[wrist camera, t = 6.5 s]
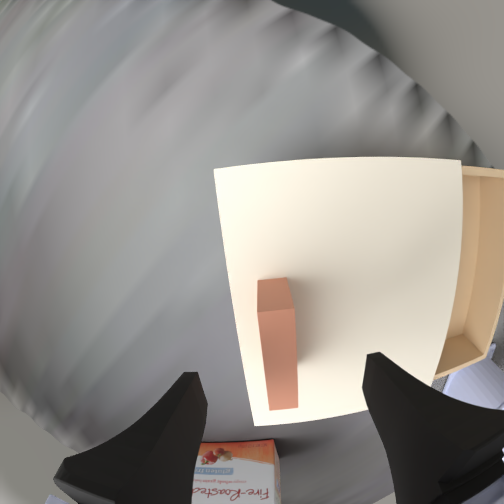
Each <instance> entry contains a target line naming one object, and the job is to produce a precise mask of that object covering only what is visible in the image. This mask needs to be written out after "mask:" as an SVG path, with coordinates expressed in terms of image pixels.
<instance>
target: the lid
mask: <svg viewBox="0 0 504 504" xmlns="http://www.w3.org/2000/svg"><path fill="white" fill-rule="evenodd" d="M214 176H215V184H216V192H217V200H218V207H219V214H220V222H221V229H222V236H223V243H224V250H225V257H226V263H227V270H228V277H229V283H230V290H231V296H232V302H233V308H234V315H235V321H236V327H237V333H238V338H239V344H240V350H241V356H242V361H243V367H244V373H245V378H246V383H247V389H248V394H249V400H250V405H251V410H252V415H253V420H254V425H255V426H264V425H277V424H287V423H296V422H304V421H311V420H318V419H324V418H330V417H336V416H341V415H346V414H351V413H355V412H360V411H364V410H368V407H367V405H366V401H365V398H364V394H363V391H362V383H363V377H364V371H365V364H366V357H367V354H370V353H375V352H381V353H382V354H384V355H385V356H386V357H388V358H389V359H390V360H392V361H393V362H394V363H396V364H397V365H398V366H400V367H401V368H402V369H404V370H405V371H407V372H408V373H409V374H411V375H412V376H414V377H415V378H417V379H418V380H420V381H422V382H423V383H425V384H427V385H428V386H430V387H431V384H432V381H433V378H434V375H435V372H436V369H437V366H438V363H439V360H440V357H441V353H442V350H443V346H444V342H445V339H446V335H447V331H448V327H449V322H450V318H451V313H452V308H453V303H454V297H455V292H456V285H457V279H458V271H459V263H460V253H461V241H462V221H463V187H462V168H461V160H451V159H436V158H415V157H343V158H320V159H304V160H291V161H279V162H269V163H259V164H250V165H242V166H234V167H226V168H219V169H214Z"/></svg>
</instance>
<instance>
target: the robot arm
mask: <svg viewBox="0 0 504 504" xmlns="http://www.w3.org/2000/svg"><path fill="white" fill-rule="evenodd" d="M495 347H496V344H495V343H492V344H491V345H490V347H489V350H488V353H487V356H486V358H485V359H483V360H480V361H478V362H476V363H474V364H472V365H470V366H467V367H465V368H463V369H461V370H458V371H456V372H453V373H451V374H449V376H448V379H447V382H446V384H445V387H444V389H443V392H442V393H441V392H439V391H437V390H435V389H433V388H432V387H430V386H428V385H427V384H425V383H423V382H422V381H420V380H418V379H417V378H415V377H414V376H412V375H411V374H409V373H408V372H407V371H405V370H404V369H402V368H401V367H400V366H398V365H397V364H396V363H394V362H393V361H392V360H390V359H389V358H388V357H386V356H385V355H384V354H382V353H381V352H375V353H370V354H367V357H366V364H365V371H364V377H363V383H362V391H363V394H364V398H365V401H366V405H367V407H368V410H369V412H370V414H371V417H372V419H373V421H374V423H375V426H376V428H377V430H378V433H379V435H380V437H381V440H382V442H383V445H384V447H385V450H386V454H387V457H388V461H389V465H390V469H391V474H392V478H393V483H394V489H395V496H396V503H397V504H504V372H503V371H502V370H501V369H500V368H499V367H498V366H497V365H496V364H495V363H494V362H493V361H492V360H491V358H492V356H493V353H494V350H495ZM207 405H208V403H207V400H206V397H205V394H204V391H203V388H202V385H201V381H200V378H199V375H198V372H184V373H183V374H182V375H181V376H180V377H179V378H178V380H177V381H176V382H175V383H174V384H173V385H172V387H171V388H170V389H169V390H168V391H167V392H166V393H165V394H164V395H163V396H162V398H161V399H160V400H159V401H158V402H157V403H156V404H155V405H154V406H153V407H152V408H151V409H150V410H149V411H148V412H147V413H146V414H144V415H143V416H142V417H141V418H140V419H139V420H138V421H136V422H135V423H134V424H133V425H131V426H130V427H129V428H127V429H126V430H124V431H123V432H121V433H120V434H118V435H117V436H115V437H113V438H112V439H110V440H108V441H107V442H105V443H103V444H101V445H99V446H97V447H94V448H92V449H90V450H87V451H85V452H82V453H79V454H76V455H73V456H70V457H67V458H65V459H64V460H63V462H62V464H61V466H60V467H59V469H58V471H57V473H56V475H55V476H54V478H53V480H54V482H55V484H56V485H57V486H58V487H59V488H60V489H61V490H62V491H64V492H65V493H66V494H67V495H68V496H70V497H71V498H72V499H74V500H75V501H76V502H77V503H78V504H192V491H193V480H194V471H195V466H196V461H197V457H198V453H199V449H200V445H201V441H202V437H203V433H204V428H205V424H206V416H207ZM45 504H69V503H67V502H65V501H63V500H61V499H59V498H57V497H56V496H53V495H52V494H50V495H49V497H48V498H47V500H46V503H45Z"/></svg>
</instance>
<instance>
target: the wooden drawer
mask: <svg viewBox="0 0 504 504" xmlns="http://www.w3.org/2000/svg"><path fill="white" fill-rule="evenodd" d="M461 168H462V187H463V221H462V241H461V253H460V263H459V271H458V279H457V285H456V292H455V297H454V303H453V308H452V313H451V318H450V322H449V327H448V331H447V335H446V339H445V342H444V346H443V350H442V353H441V357H440V360H439V363H438V366H437V369H436V372H435V375H434V378H433V380H435V379H438V378H441V377H443V376H446V375H448V374H451V373H453V372H456V371H458V370H461V369H463V368H465V367H467V366H470V365H472V364H474V363H476V362H478V361H480V360H483V359H485V358H486V356H487V353H488V350H489V347H490V345H491V342H492V339H493V336H494V332H495V329H496V326H497V322H498V319H499V315H500V311H501V308H502V304H503V299H504V170H500V169H492V168H483V167H472V166H461Z"/></svg>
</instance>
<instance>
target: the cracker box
mask: <svg viewBox="0 0 504 504" xmlns="http://www.w3.org/2000/svg"><path fill="white" fill-rule="evenodd" d="M192 504H281V490H280V465H279V457H278V454H277V451H276V447H275V443H274V440H273V439H271V440H262V441H250V442H231V443H201V445H200V449H199V453H198V457H197V461H196V466H195V471H194V480H193V491H192Z"/></svg>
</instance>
